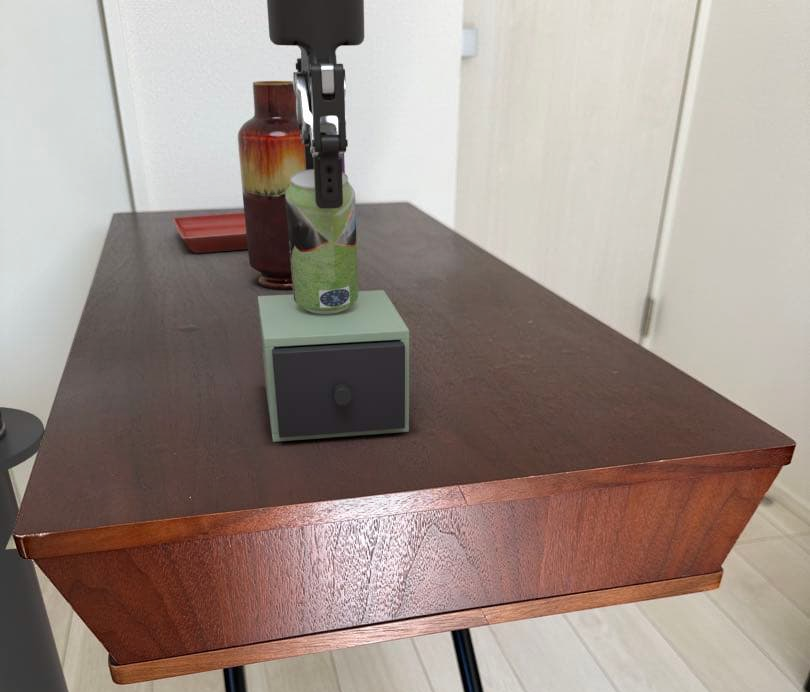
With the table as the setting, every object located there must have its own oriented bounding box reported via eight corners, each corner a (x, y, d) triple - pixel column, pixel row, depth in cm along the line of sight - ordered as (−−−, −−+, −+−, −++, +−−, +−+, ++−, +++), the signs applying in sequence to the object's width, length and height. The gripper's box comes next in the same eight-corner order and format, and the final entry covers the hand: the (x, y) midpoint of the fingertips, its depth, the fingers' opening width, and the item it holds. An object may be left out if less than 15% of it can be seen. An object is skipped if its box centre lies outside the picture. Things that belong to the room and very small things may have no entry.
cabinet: (409, 431, 78) (409, 330, 73) (272, 442, 76) (263, 338, 71) (385, 380, 90) (383, 289, 85) (265, 388, 88) (257, 296, 83)
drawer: (407, 433, 76) (407, 349, 72) (280, 443, 74) (273, 357, 70) (382, 380, 87) (381, 305, 83) (272, 387, 85) (265, 311, 81)
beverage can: (353, 297, 82) (348, 164, 76) (366, 319, 76) (362, 176, 70) (288, 301, 81) (279, 166, 75) (296, 323, 75) (287, 178, 69)
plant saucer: (184, 257, 138) (181, 236, 136) (174, 235, 153) (171, 216, 151) (292, 249, 143) (291, 229, 141) (272, 229, 158) (271, 210, 156)
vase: (335, 275, 128) (327, 80, 115) (311, 293, 119) (299, 84, 105) (267, 270, 130) (252, 79, 117) (238, 288, 121) (218, 83, 108)
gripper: (261, -23, 70) (275, 187, 78) (269, -34, 58) (286, 215, 66) (350, -21, 71) (355, 185, 79) (377, -32, 59) (379, 212, 67)
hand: (324, 198), depth 73 cm, fingers open, 8 cm apart
